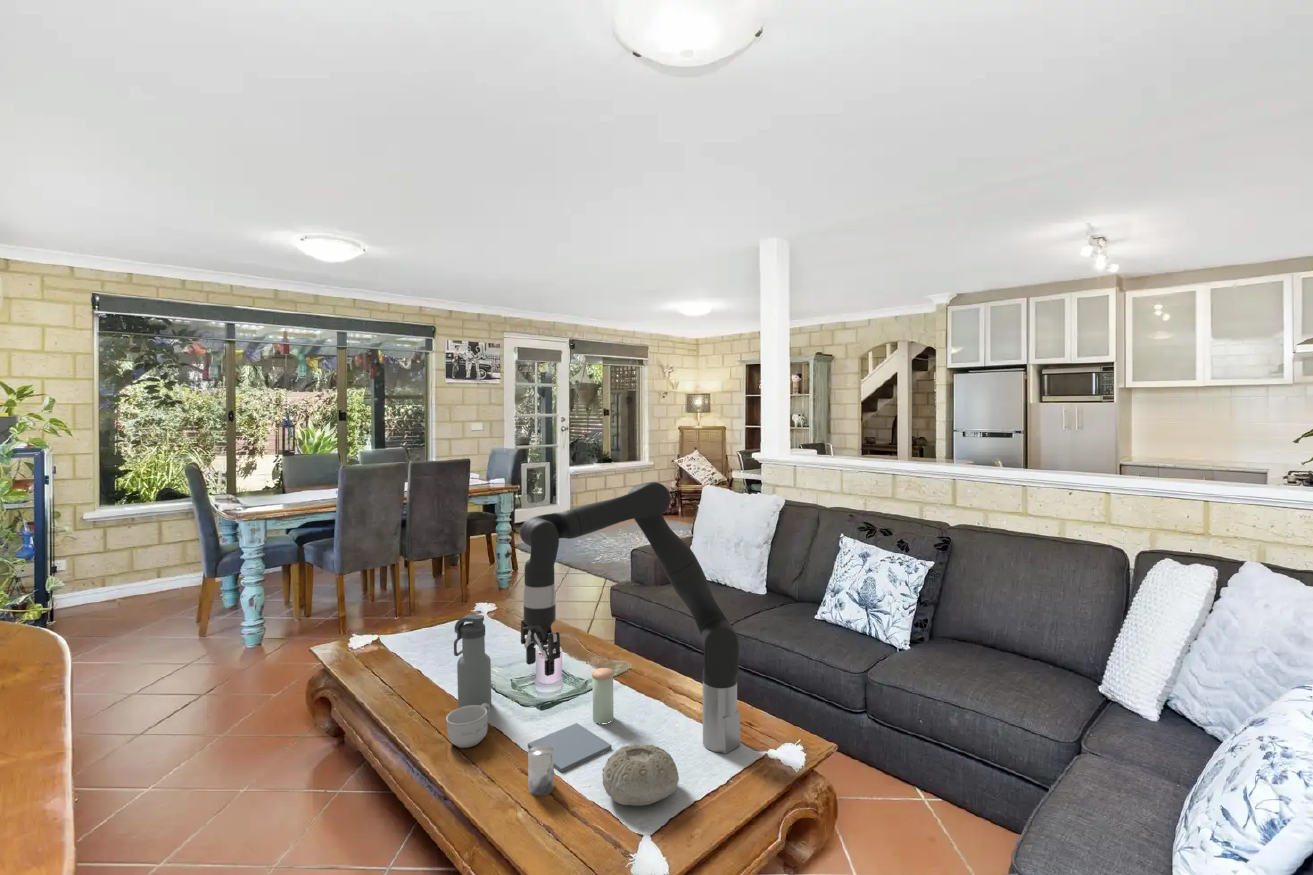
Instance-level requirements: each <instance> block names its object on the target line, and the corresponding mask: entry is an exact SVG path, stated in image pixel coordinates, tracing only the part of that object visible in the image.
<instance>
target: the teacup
mask: <svg viewBox="0 0 1313 875" xmlns="http://www.w3.org/2000/svg"><path fill="white" fill-rule="evenodd" d="M490 713H491V705H490V706H489V704H487V703H483V704H482V705H481V706H478V705H470V706H465V707H461V708H458V707H457V708H456V709H454V710H451V711H450V712H449V713H448V714H447V715H446V718H445V721H446V731H447V737H448V739H449V742H450V743H452V745H454V746H456V747H458V748H461V749H464V748H465V749H466V748H471V747H474V746H477V745H478V744H479V743H481V742H482V740H483V739H484V738H485V737H486V735H487V733H488V727H489V726H488V717H489V715H490Z"/></svg>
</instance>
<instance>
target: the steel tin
mask: <svg viewBox="0 0 1313 875" xmlns="http://www.w3.org/2000/svg"><path fill="white" fill-rule="evenodd" d="M527 764H528V766H527V767H528V768H527V769H528V770H527V773H528V774H527V775H528V777H527V778H528V793H529V794H531V795H533V796H535V797H537V796H539V797H541V796H545V795H546V796H547V795H548V794H550V793H552V792H553V790H554V789H555V768H554V750H553V748H552V747H551V746H549V745H537V746H534V747H532V748H531V749H529V750H528V752H527Z"/></svg>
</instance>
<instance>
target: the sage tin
mask: <svg viewBox="0 0 1313 875" xmlns="http://www.w3.org/2000/svg"><path fill="white" fill-rule="evenodd" d="M614 672H615V671H614V670H613V669H612V668H610V667H600V668H596V669H594V670H592V672H591V678H592V682H591V683H592V721H593V720H594V722H596V723H600V724H602V723H608V722H610V721H612V720H613V718H614V714H615V713H614V674H615V673H614ZM614 719H615V718H614ZM613 721H614V720H613ZM613 721H612V722H613ZM594 722H593V723H594ZM596 723H595V724H596ZM600 724H599V725H600Z"/></svg>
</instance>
